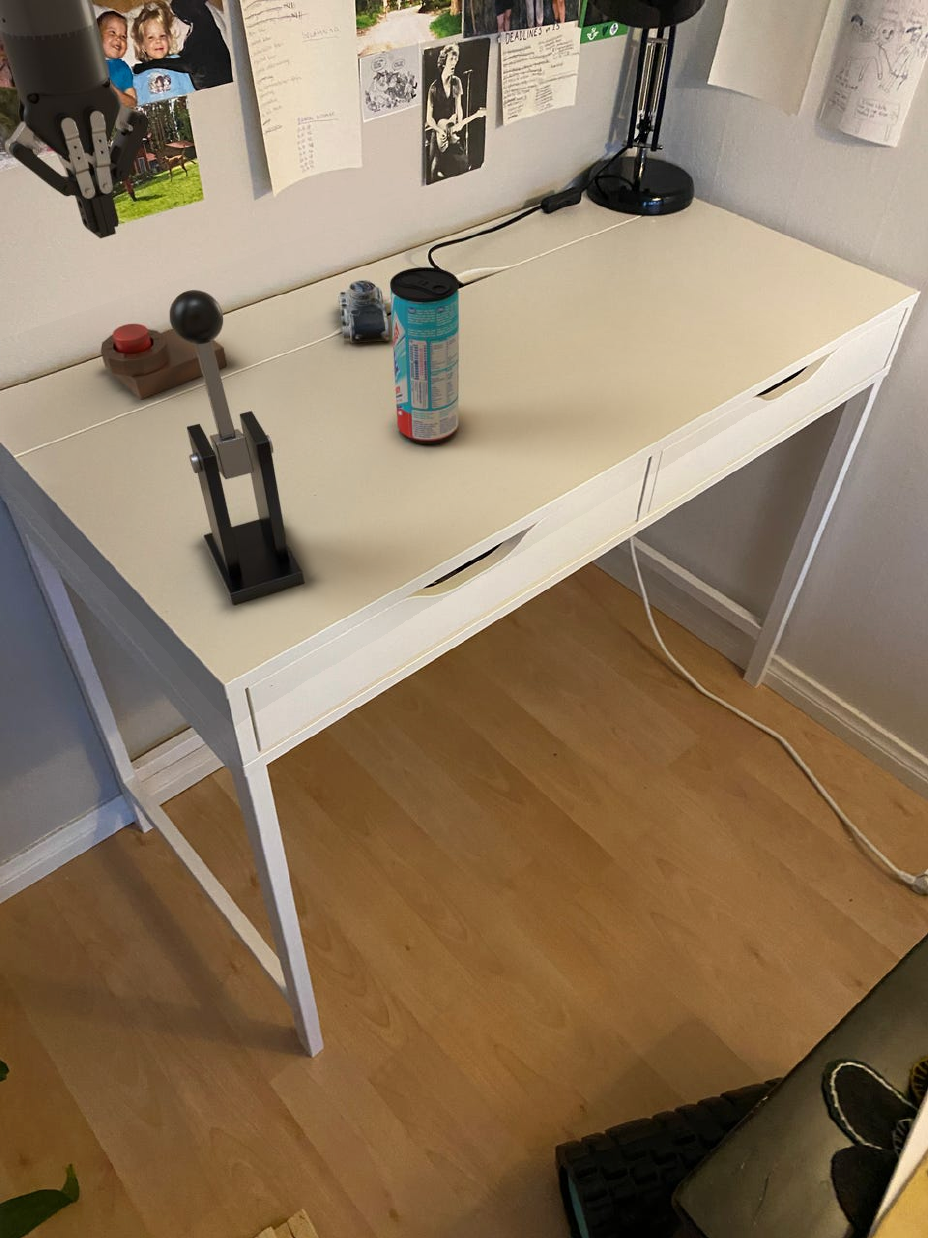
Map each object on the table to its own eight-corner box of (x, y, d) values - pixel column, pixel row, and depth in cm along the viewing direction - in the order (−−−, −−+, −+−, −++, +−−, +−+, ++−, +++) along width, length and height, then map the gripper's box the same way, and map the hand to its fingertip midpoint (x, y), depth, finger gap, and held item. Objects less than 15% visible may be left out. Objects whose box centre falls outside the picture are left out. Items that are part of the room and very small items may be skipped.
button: (126, 359, 95) (122, 343, 93) (111, 346, 97) (106, 330, 95) (157, 348, 96) (153, 332, 95) (141, 335, 98) (137, 319, 97)
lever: (159, 292, 66) (167, 299, 63) (210, 282, 67) (220, 288, 64) (208, 470, 73) (218, 484, 70) (253, 458, 74) (265, 471, 71)
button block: (130, 403, 96) (120, 368, 93) (99, 375, 99) (88, 340, 97) (227, 366, 101) (220, 331, 98) (194, 340, 105) (186, 306, 102)
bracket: (205, 545, 80) (173, 415, 71) (274, 525, 82) (251, 396, 73) (232, 605, 75) (201, 473, 66) (304, 582, 77) (284, 451, 68)
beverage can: (429, 405, 96) (426, 260, 85) (471, 430, 93) (473, 282, 82) (385, 429, 93) (375, 281, 82) (426, 455, 90) (421, 305, 79)
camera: (343, 348, 103) (340, 312, 100) (339, 304, 111) (335, 269, 108) (390, 345, 104) (388, 309, 101) (382, 301, 111) (380, 266, 108)
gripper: (-18, 43, 71) (53, 268, 83) (144, 13, 77) (188, 227, 89) (-55, 22, 75) (18, 240, 87) (102, -5, 81) (149, 202, 93)
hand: (104, 233), depth 88 cm, fingers closed
